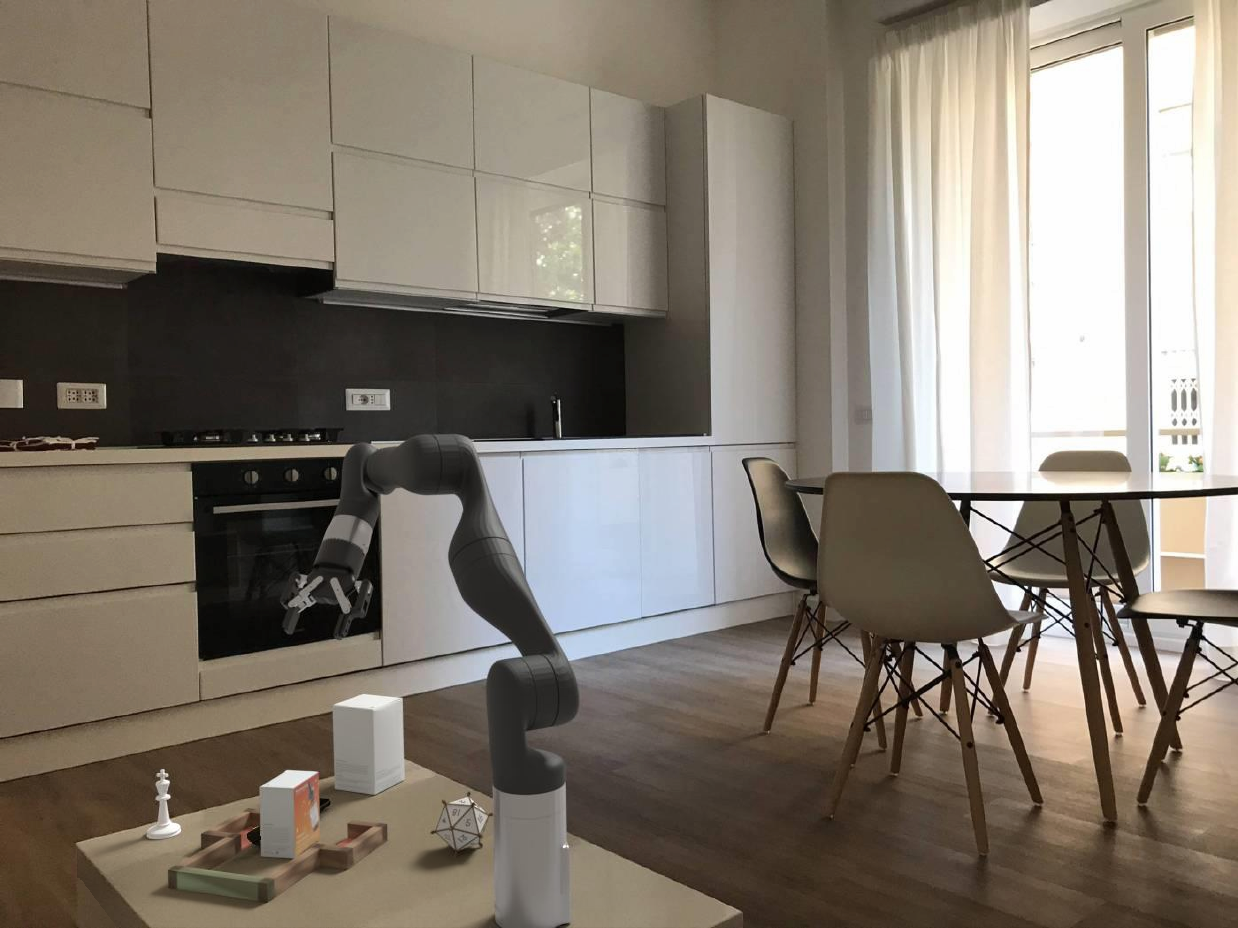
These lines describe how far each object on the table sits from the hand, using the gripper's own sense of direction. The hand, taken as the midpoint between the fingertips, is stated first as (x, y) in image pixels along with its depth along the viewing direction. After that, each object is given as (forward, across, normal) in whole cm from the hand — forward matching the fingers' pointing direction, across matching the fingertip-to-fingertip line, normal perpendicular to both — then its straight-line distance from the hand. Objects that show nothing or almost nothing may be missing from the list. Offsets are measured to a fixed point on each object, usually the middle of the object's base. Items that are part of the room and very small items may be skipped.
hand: (312, 634), depth 165 cm
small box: (+31, +4, +9) cm, 32 cm away
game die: (+27, +30, +10) cm, 41 cm away
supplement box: (+14, +5, +31) cm, 34 cm away
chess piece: (+31, -18, +12) cm, 38 cm away
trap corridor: (+34, +4, +5) cm, 34 cm away
